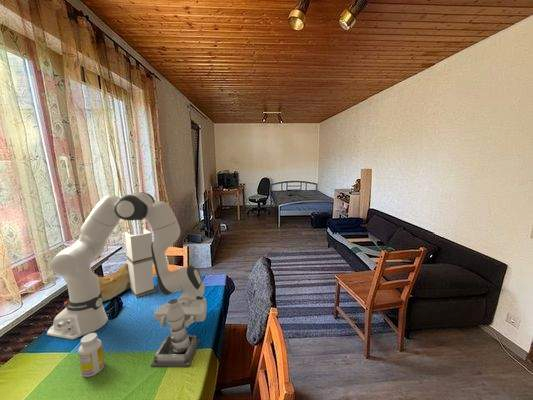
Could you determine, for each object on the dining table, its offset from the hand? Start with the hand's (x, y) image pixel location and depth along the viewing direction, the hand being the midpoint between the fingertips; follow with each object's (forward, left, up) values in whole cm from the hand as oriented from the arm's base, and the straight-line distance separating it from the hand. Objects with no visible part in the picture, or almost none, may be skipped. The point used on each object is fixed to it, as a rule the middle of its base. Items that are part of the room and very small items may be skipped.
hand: (173, 325), depth 90 cm
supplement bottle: (-27, -7, -12) cm, 31 cm away
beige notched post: (-38, +47, -12) cm, 62 cm away
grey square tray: (0, +1, -12) cm, 12 cm away
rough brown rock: (-55, +45, -12) cm, 72 cm away
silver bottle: (+2, +1, -11) cm, 11 cm away
